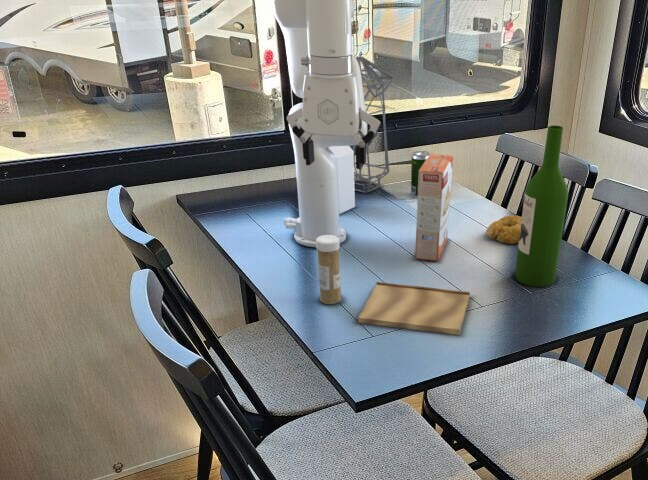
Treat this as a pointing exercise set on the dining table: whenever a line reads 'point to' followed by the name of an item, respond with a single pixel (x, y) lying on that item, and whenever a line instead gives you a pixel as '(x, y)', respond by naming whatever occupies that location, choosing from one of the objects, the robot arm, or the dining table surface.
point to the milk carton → (344, 175)
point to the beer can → (417, 169)
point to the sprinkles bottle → (329, 269)
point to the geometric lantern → (392, 78)
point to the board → (415, 308)
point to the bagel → (505, 229)
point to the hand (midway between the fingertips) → (335, 165)
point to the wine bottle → (543, 218)
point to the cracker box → (433, 206)
